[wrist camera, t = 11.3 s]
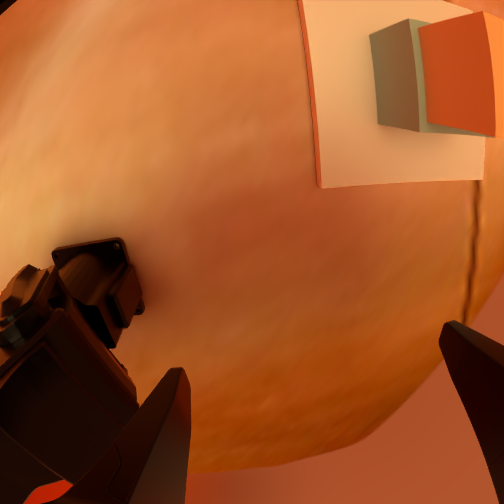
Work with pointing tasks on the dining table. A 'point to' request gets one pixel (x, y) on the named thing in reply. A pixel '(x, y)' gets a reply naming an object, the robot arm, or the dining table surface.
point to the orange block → (465, 72)
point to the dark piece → (5, 5)
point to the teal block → (403, 79)
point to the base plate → (372, 100)
